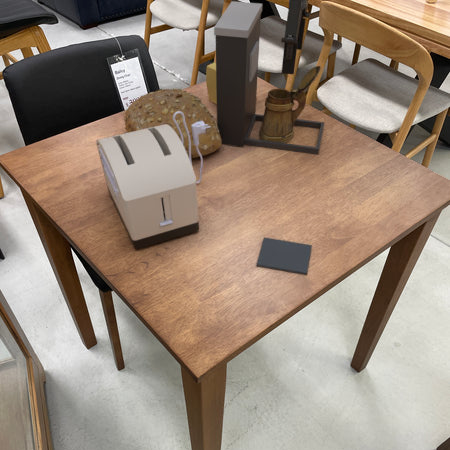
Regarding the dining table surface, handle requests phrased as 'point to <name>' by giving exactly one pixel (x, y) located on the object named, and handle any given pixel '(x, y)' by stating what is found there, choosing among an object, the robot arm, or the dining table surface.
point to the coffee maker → (243, 79)
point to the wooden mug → (284, 110)
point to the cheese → (211, 82)
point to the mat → (284, 256)
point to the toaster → (153, 181)
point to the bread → (163, 114)
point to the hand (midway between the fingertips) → (291, 60)
